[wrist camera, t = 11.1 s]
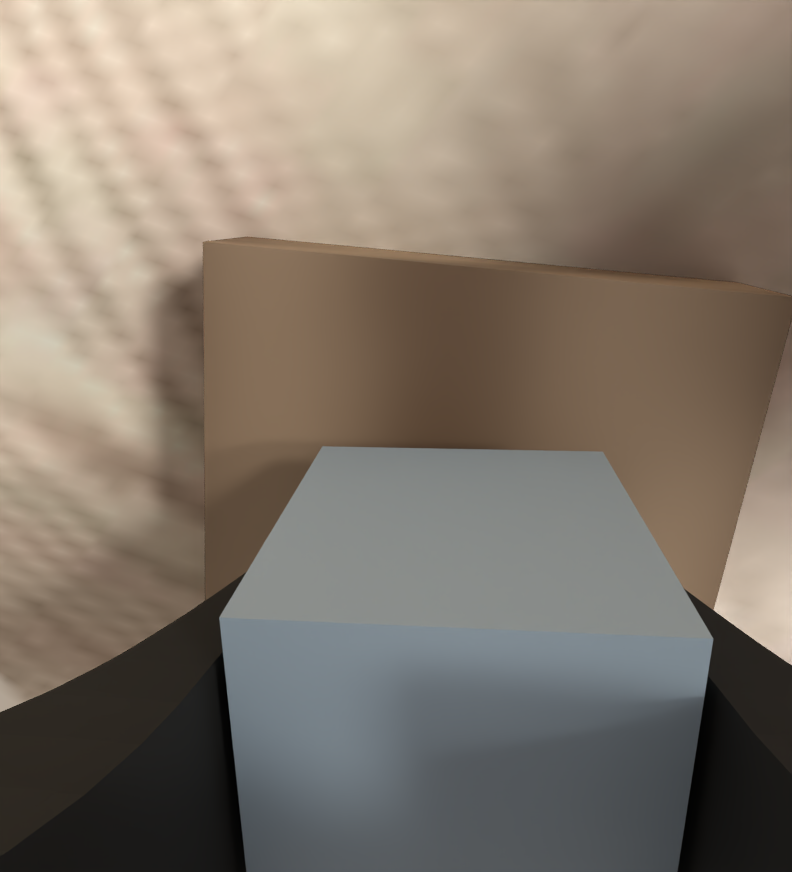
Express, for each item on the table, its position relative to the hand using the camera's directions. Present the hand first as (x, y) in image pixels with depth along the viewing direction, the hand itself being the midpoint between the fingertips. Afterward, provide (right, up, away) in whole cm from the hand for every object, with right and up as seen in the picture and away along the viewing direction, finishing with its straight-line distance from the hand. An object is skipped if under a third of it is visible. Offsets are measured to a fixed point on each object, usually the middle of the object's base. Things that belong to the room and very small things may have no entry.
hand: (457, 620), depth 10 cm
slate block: (0, 0, +1) cm, 1 cm away
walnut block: (+1, +2, +6) cm, 6 cm away
